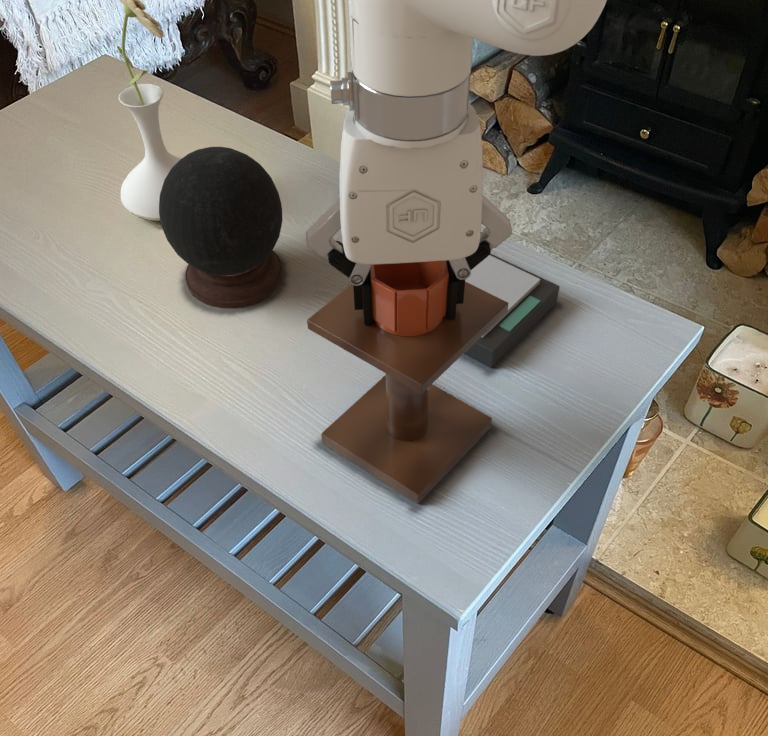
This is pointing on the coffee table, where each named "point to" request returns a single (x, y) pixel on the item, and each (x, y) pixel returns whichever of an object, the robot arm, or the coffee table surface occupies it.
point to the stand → (407, 393)
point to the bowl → (409, 296)
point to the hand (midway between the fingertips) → (408, 309)
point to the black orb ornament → (223, 226)
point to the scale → (509, 305)
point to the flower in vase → (144, 129)
